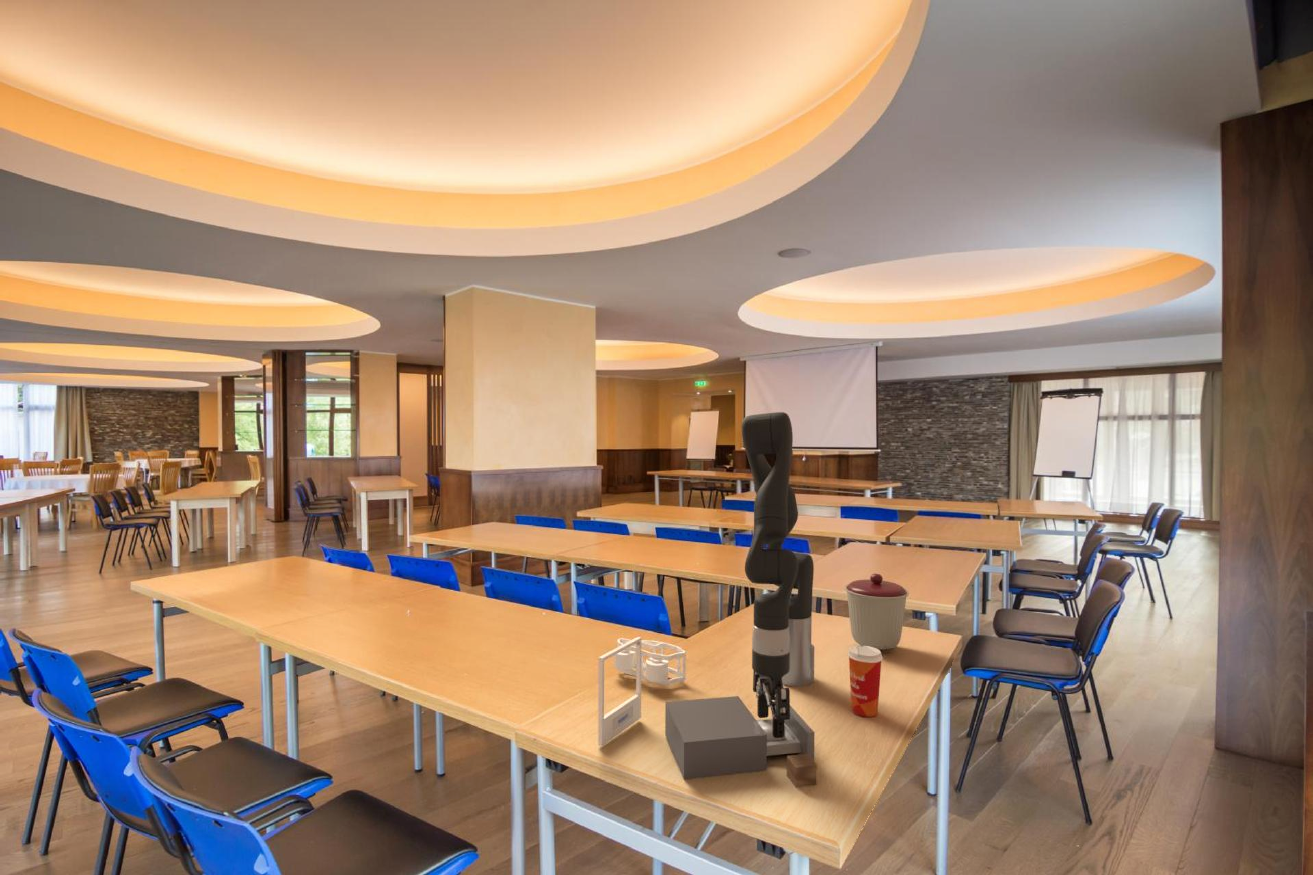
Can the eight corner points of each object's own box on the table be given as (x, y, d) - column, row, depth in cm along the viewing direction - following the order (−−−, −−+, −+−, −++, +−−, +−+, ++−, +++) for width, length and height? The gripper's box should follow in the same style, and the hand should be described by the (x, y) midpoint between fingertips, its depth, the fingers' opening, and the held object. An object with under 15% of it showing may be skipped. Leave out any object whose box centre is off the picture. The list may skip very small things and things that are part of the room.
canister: (855, 630, 199) (856, 564, 199) (914, 641, 188) (915, 572, 188) (835, 646, 184) (836, 575, 184) (898, 659, 174) (899, 584, 173)
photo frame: (602, 746, 126) (602, 658, 126) (598, 745, 127) (598, 657, 126) (641, 717, 139) (642, 637, 138) (637, 716, 139) (637, 636, 139)
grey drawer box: (738, 728, 134) (738, 695, 134) (766, 771, 117) (766, 734, 117) (665, 734, 131) (665, 701, 131) (683, 780, 114) (684, 742, 114)
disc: (778, 728, 130) (778, 718, 130) (790, 742, 124) (790, 732, 124) (751, 730, 129) (751, 721, 129) (761, 745, 123) (761, 735, 123)
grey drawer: (782, 722, 136) (782, 694, 136) (816, 764, 119) (816, 731, 119) (715, 728, 133) (715, 699, 133) (741, 771, 116) (741, 739, 116)
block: (806, 774, 116) (807, 753, 116) (816, 787, 112) (816, 765, 112) (786, 777, 115) (786, 755, 115) (795, 789, 112) (795, 767, 111)
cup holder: (605, 671, 165) (605, 643, 165) (632, 659, 174) (633, 633, 174) (663, 692, 152) (664, 662, 152) (690, 678, 161) (690, 649, 161)
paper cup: (841, 704, 146) (842, 644, 146) (873, 703, 146) (874, 644, 146) (855, 719, 138) (855, 657, 138) (888, 718, 139) (889, 656, 138)
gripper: (803, 658, 120) (802, 742, 120) (775, 634, 134) (774, 709, 134) (765, 661, 118) (765, 746, 119) (741, 636, 132) (741, 712, 133)
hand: (770, 726), depth 126 cm, fingers open, 8 cm apart
